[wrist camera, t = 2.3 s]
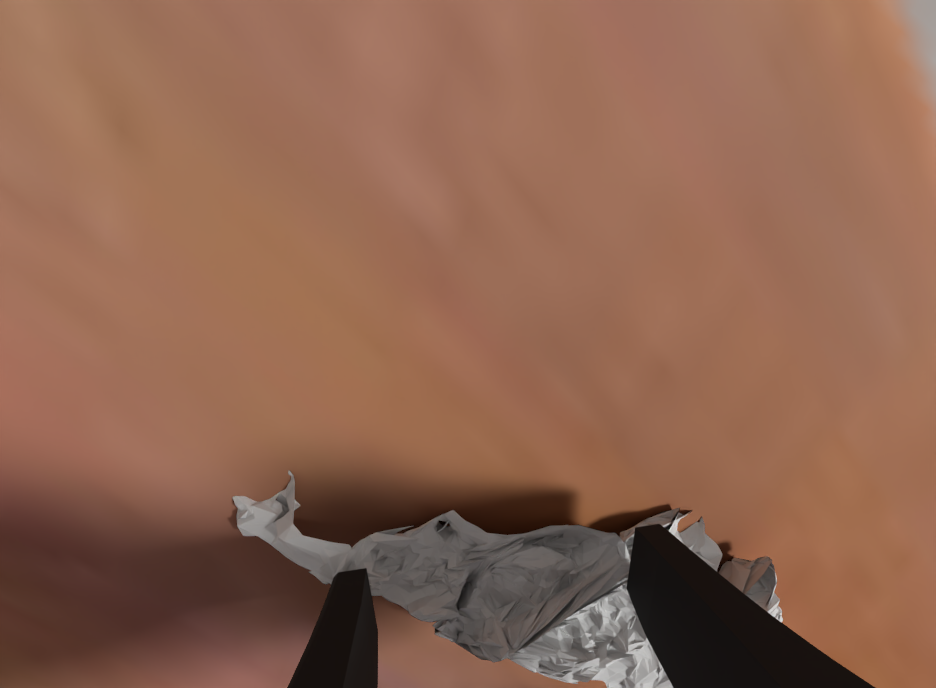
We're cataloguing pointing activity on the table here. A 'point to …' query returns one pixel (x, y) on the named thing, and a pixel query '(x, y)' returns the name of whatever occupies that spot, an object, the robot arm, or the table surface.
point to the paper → (512, 586)
